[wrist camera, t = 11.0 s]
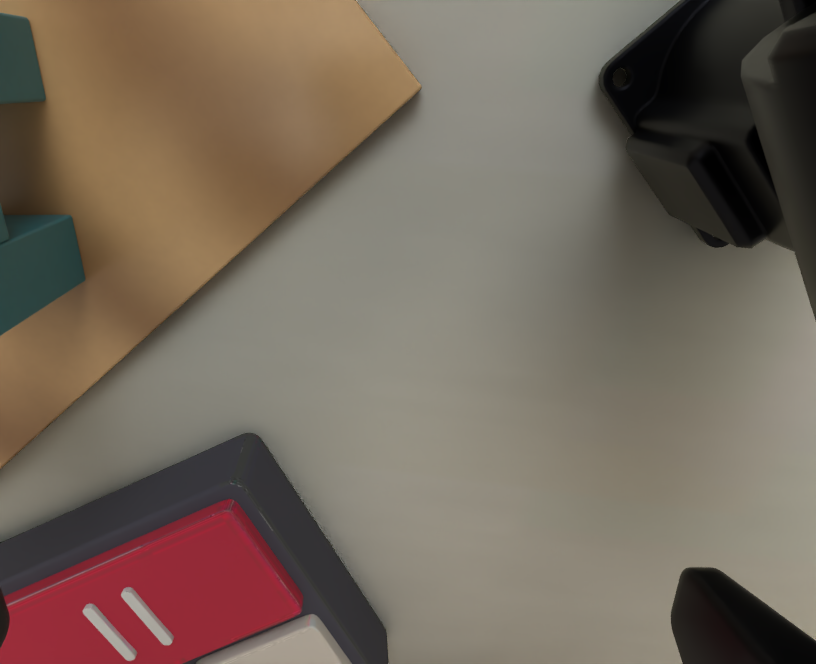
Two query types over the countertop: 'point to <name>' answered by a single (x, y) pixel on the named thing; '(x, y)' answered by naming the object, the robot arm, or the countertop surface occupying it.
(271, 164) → the wooden board
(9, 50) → the letter H
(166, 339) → the countertop surface
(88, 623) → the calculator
